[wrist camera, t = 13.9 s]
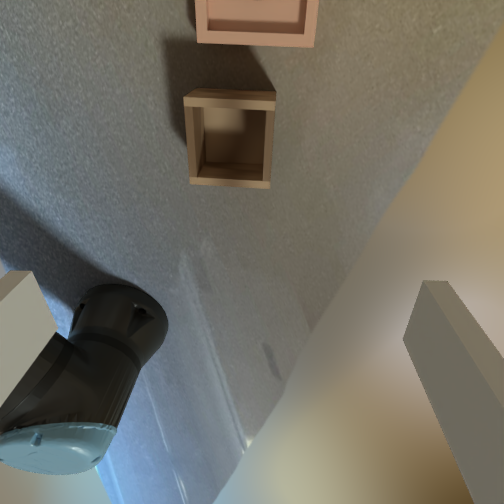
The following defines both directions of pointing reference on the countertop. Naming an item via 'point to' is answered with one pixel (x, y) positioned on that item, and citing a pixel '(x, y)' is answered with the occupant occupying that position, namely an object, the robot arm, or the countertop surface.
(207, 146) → the small wooden box
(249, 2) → the tray
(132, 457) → the countertop surface
